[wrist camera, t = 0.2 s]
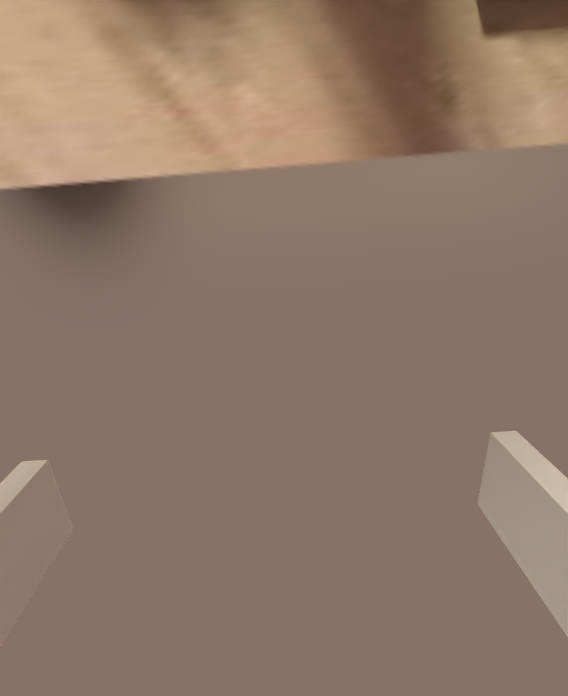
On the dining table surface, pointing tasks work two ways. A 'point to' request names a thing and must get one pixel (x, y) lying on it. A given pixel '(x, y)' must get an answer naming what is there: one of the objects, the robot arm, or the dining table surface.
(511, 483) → the robot arm
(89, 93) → the dining table surface
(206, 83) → the dining table surface
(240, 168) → the dining table surface
